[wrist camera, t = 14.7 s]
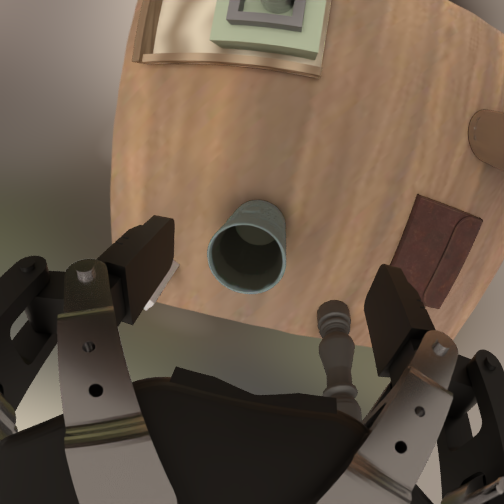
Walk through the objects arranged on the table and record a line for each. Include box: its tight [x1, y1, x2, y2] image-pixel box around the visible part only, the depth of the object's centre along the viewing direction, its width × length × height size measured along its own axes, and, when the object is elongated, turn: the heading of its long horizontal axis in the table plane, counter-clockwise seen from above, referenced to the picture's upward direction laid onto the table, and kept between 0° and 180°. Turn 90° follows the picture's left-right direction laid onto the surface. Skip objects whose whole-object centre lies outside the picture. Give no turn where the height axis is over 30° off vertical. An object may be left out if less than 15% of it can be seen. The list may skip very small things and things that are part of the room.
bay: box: [132, 0, 331, 79], centre depth 28 cm, size 26×18×5 cm
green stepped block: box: [210, 0, 326, 60], centre depth 25 cm, size 13×13×8 cm
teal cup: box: [207, 200, 286, 294], centre depth 41 cm, size 10×10×12 cm
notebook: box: [390, 194, 483, 309], centre depth 44 cm, size 15×20×2 cm
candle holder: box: [317, 300, 362, 422], centre depth 42 cm, size 6×6×25 cm
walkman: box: [144, 260, 179, 310], centre depth 47 cm, size 8×3×12 cm, turn 48°
